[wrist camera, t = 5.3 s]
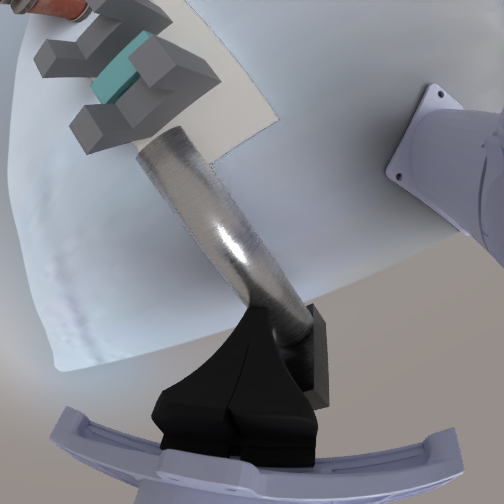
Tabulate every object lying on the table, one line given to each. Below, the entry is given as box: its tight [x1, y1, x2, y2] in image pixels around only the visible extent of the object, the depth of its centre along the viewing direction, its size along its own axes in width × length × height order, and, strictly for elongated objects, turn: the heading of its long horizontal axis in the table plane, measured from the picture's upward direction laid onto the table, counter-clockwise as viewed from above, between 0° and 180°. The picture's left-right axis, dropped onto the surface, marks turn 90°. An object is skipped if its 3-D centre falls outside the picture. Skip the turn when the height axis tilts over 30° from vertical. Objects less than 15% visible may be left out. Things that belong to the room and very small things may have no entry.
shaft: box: [136, 126, 329, 410], centre depth 12 cm, size 14×2×6 cm, turn 33°
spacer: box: [90, 30, 178, 104], centre depth 12 cm, size 2×4×4 cm, turn 123°
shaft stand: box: [34, 0, 280, 165], centre depth 12 cm, size 13×9×8 cm
